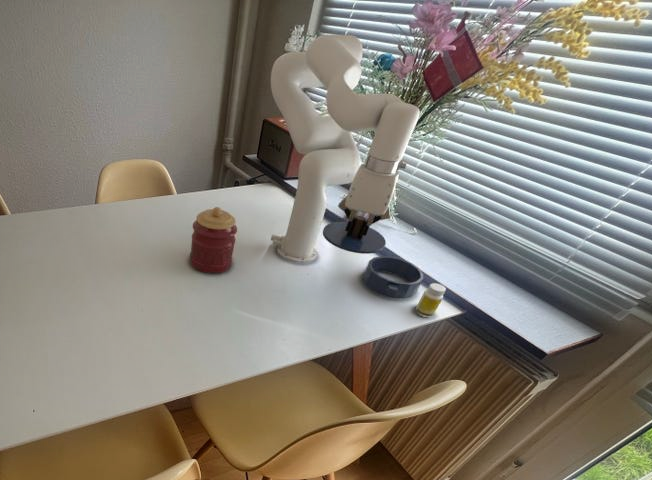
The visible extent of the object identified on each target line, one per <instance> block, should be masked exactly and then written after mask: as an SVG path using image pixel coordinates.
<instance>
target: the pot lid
mask: <svg viewBox="0 0 652 480" xmlns="http://www.w3.org/2000/svg"><path fill="white" fill-rule="evenodd" d="M366 220H367V218H366V217H365V216H363V215H355V220H354V224H353V227H352V229H351V232H350V235H349V236H346V235H347V231H345V229H346V227H347V224H348V221H334V222H330V223H328V224H326V225H325V226H323V229H322V236H323V238H324V239H325V240H326V241H327V242H328V243H329V244H330V245H333V246H334V247H336V248H338V249H341V250H343V251H346V252H351V253H353V254H354V253H355V254H362V255H364V254H367V255H368V254H375V253H379V252H382V251H383V250H384V248H385V247H386V245H387V240H386V238H385V237H384V236H383V235H382V234H381V233H380V232H379V231H378V230H376V229H374V228H372V227H371V226H369V229H368V231H367V234H366V236H364V235H363V237H362V239H359V236H360V234H361V231H362V228H363V226H364V223H365V221H366Z"/></svg>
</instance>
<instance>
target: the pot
mask: <svg viewBox="0 0 652 480" xmlns="http://www.w3.org/2000/svg"><path fill="white" fill-rule="evenodd" d="M378 272H383V273H389V274H393V275H396V276H399V277H400V278H402V279H404V280H406V281H407V282H402V281H401V282H400V281H396V280H392V279H388V278H386V277H384V276H383V275H380V274H379V273H378ZM362 281H363V283H364V285H365V286H366V287H367V288H368V289H370V290H371V291H372V292H374V293H377V295H378V294H379V295H380V296H383V297H387V298H390V299H401V300H403V299H408V298H409V299H410V298H412V297H413V296H415V294H416V293H417V291H418V290H419V288H420V286H421V285H422V282H423V281H424V273H423V271H422V270H421V269H420V268H419V267H418V266H417V265H415V264H413V263H412V262H410V261H408V260H405V259H403V258H401V256H397V255H394V254H391V256H387V255H386V256H385V255H380V256H375V257H373V258H371V259H369V260H368V263H367V265H366V267H365V270H364V273H363V276H362Z"/></svg>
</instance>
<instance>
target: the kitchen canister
mask: <svg viewBox="0 0 652 480" xmlns="http://www.w3.org/2000/svg"><path fill="white" fill-rule="evenodd" d="M195 219H196V220H195V221H194V222H193V223H192V229H193V232H192V234H191V244H190V245H191V247H190V253H189V260H190V265H191V266H192V268H194V269H195V270H198V271H199V272H203V273H207V274H221V273H223V272H226V271H227V270H229V269H230V267H231V265H232V263H233V253H234V249H235V248H234V247H235V243H236V236H235V235H236V234H237V232H238V226H237V225H236V218H235V217H234V216H233V215H232V214H231V213H230V212H228V211H226V210H223V209H221V208H220V207H218V206H215V207H214V208H210V209H206V210H205V209H204V211H201V212H199V213H198V214H196V217H195Z"/></svg>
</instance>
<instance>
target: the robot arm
mask: <svg viewBox="0 0 652 480" xmlns="http://www.w3.org/2000/svg"><path fill="white" fill-rule="evenodd" d="M363 55H364V48H363V44H362V41H361V40H360V38H358V37H357V36H355V35H352V34H322V35H319V36H317V37H316V38H314V39H313V40H312V41H311V42H310V44H309V45H308V46H307V49H306V51H292V52H288V53H285V54H282V55H280V56H279V57H278V58H277V59H275V60H274V63H273V65H272V68H271V72H270V89H271V94H272V97H273V100H274V102H275V104H276V106H277V108H278V110H279V111H280V113H281V115H282V117H283V119H284V122H285V124H286V127H287V130H288V133H289V135H290V139H291V141H292V143H293V146H294V148H295V150H296V152H298V153H299V154H301V155H304V156H303V157H302V159H301V160H300V162H299V166H298V177H297V185H296V186H297V187H296V191H295V196H294V200H293V204H292V205H293V206H292V210H291V214H290V217H289V220H288V221H289V222H288V225H287V229H286V232H285V233H286V234H285V235H281V236H279V235H277V234H271V237H270V241H272V244H273V245H278V246H277V253H278V255H280V257H282V258H284V259H285V260H286V261H287V260H288V261H291V262H294V263H300V264H301V263H302V264H304V263H305V264H306V263H311V262H313V261H315V259H317V255H318V252H317V250H316V249H315V245H316V242H317V239H318V236H319V233H320V230H321V226H322V223H323V220H324V216H325V213H326V209H327V206H328V196H327V193H326V188H327V187H333V186H342V185H348V184H350V187H349V189H348V192H347V194H346V196H344V198H343V199H341V200H340V202H339V203H338V205H337V207H338V208H339V210H341V211H342V212H344V214H345V216H346V217H347V222H348V224H347V227H346V229H345V231H347V235H346V236H349V235H350V232H351V229H352V227H353V224H354V220H355V218H356V214H357V212H361V213H366V214H369V215H368V218H366V221H365V223H364V226H363V228H362V231H361V234H360V236H359V239H362V237H363V235H364V236H366V234H367V231H368V229H369V227H371V226H372V225H373V224H375V223H377V222H379V221H383V220H389V219H390V218H391V206H390V204H391V201H392V198H393V197H394V193H395V190H396V187H397V183H398V181H399V176H400V172H399V170H406V168H407V164H408V163H407V162H404V161H403V157H404V155H405V152H406V149H407V148H408V145H409V142H410V140H411V138H412V136H413V133H414V130H415V128H416V126H417V123H418V120H419V118H420V114H421V112H420V108H419V107H418V106H416V105H414V104H411V103H407V102H405V101H404V100H402V99H401V98H400V97H399V96H397V95H395V94H392V93H356V92H355V90H354V89H355V88H356V86H357V85H358V84H359V82H360V80H361V77H362V73H363V68H362V64H361V62H362V59H363ZM323 87H324V88H325V89H326V90H327V92H326V96H325V97H326V100H325V104H326V110H327V113H328V115H329V116H322V115H320V114H319V113H318V112H317V109H316V108H315V106H314V103H313V101H312V99H311V98H310V97H309V96H308V94H306V93H305V92H304V91H303V90H302V89H307V88H309V89H310V88H312V89H313V88H315V89H317V88H323ZM359 132H375V133H374V135H373V139H372V141H371V144H370V147H369V149H368V151H367V152H368V153H367V155H366V157H365V160H364V163H362V158H361V155H360V152H359V148H358V147H357V144H356V140H355V139H354V136H353V134H352V133H359Z"/></svg>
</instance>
